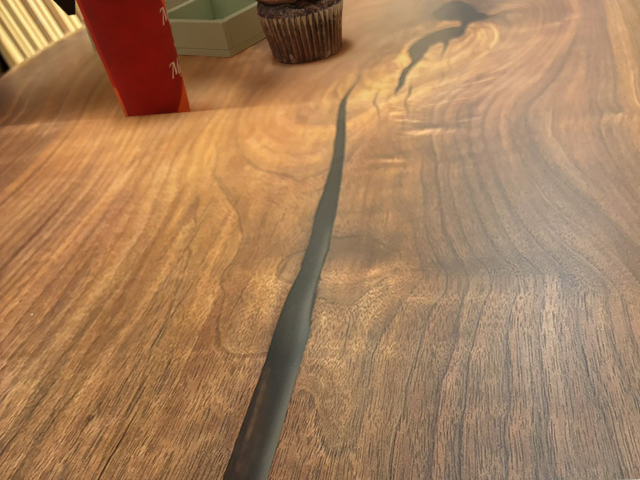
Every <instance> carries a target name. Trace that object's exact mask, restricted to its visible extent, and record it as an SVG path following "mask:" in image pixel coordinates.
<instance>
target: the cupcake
mask: <svg viewBox="0 0 640 480" xmlns="http://www.w3.org/2000/svg"><path fill="white" fill-rule="evenodd" d="M255 1H257V2H258V3H257V16H258V19H259V22H260V24H261V26H262V28H263V31H264V33H265V36H266V37H265V39H266V41H267V44H268V46H269V48H270V51H271V54H272V56H273V58H274V59H275V60H276V61H277V62H280V63H283V64H304V63H311V62H316V61H320V60H321V61H322V60H324V59H327V58H329V57H330V56H334V55H336V54H337V53H339V52H340V51H341V49H342V47H343V9H344V6H343V5H344V0H255Z"/></svg>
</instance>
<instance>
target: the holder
mask: <svg viewBox="0 0 640 480" xmlns="http://www.w3.org/2000/svg"><path fill="white" fill-rule="evenodd" d="M164 1H165V5H166V9H167V13H168V17H169V21H170V26H171V30H172V34H173V38H174V42H175V46H176V51H177V55H178V56H193V57H195V56H196V57H197V56H198V57H213V58H232V57H234V56H236V55H237V54H239V53H241V52H243V51H244V50H246V49H248V48H250V47H252V46H253V45H255V44H257V43H258V42H260V41H262V40H264V39H266V36H265V33H264V31H263V28H262V26H261V24H260V22H259V19H258V16H257V3H258V2H257V1H255V0H164ZM82 21H83V22H82V23H83V24H84V27H85V29H86V32H87V35H88V38H89V41H90V43H91V47H92V49H93V51H97V49H96V47H95V44H94V42H93V40H92V37H91V35H90V33H89V30H88V28H87V26H86V23H85V21H84V18H82Z"/></svg>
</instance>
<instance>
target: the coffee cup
mask: <svg viewBox="0 0 640 480" xmlns="http://www.w3.org/2000/svg"><path fill="white" fill-rule="evenodd" d="M75 3H76V4H77V6H78V9H79V11H80V14H81V16H82V19H84V21H85V23H86V26H87V28H88V30H89V33H90V35H91V37H92V40H93V42H94V44H95V47H96V49H97V50H96V52H97V54H98V56H99V59H100V61H101V63H102V67H103V68H104V70H105V72H106V75H107V78H108V79H109V82H110V84H111V87H112V89H113V91H114V93H115V97H116V98H117V101H118V103H119V106H120V108H121V110H122V113H123V114H124V117H125V118H127V117H144V116H153V115H154V116H155V115H167V114H168V115H169V114H181V113H191V107H190V103H189V102H190V101H189V98H188V94H187V89H186V86H185V81H184V76H183V73H182V68H181V63H180V59H179V55H177V51H176V46H175V42H174V38H173V34H172V30H171V26H170V21H169V17H168V13H167V9H166V5H165V1H164V0H75Z"/></svg>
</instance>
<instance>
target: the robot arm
mask: <svg viewBox="0 0 640 480" xmlns="http://www.w3.org/2000/svg"><path fill="white" fill-rule="evenodd" d="M52 1H53V2H54V3H55V4H56V5H57V6H58V7H59V8H60V9H61V10H62V11H63V12H64V13H65V14H66V15H67V16H68V17H70V16H76V15H77V14H76V9H77V8H76V7H77V6H76V0H52Z"/></svg>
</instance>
